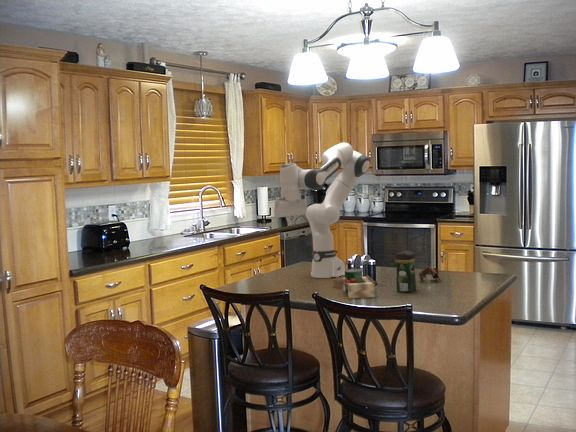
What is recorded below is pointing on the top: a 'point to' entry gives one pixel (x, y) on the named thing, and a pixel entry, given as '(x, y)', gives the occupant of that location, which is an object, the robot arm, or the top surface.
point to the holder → (361, 288)
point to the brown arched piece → (430, 273)
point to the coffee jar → (405, 271)
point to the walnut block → (338, 283)
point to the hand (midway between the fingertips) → (291, 225)
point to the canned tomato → (352, 277)
